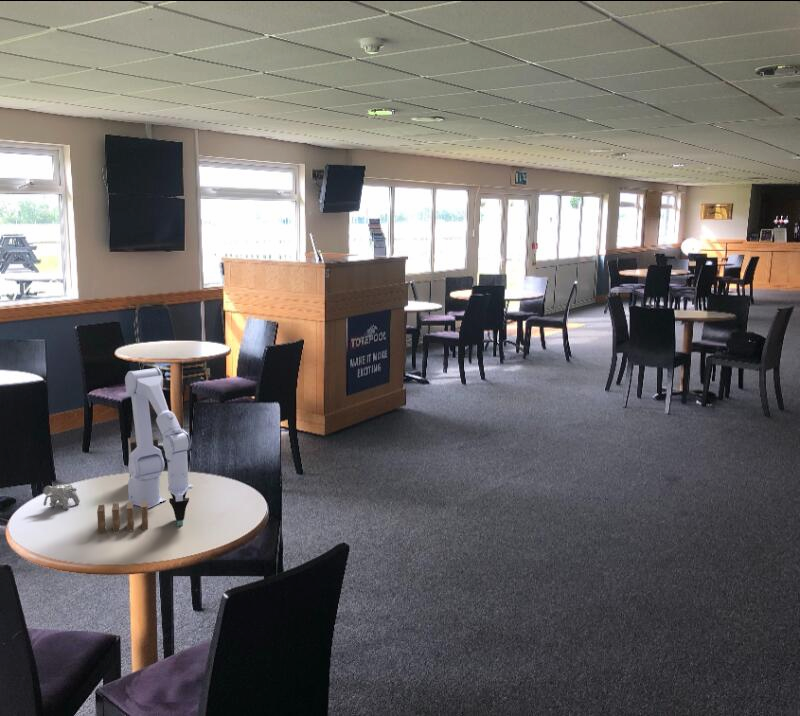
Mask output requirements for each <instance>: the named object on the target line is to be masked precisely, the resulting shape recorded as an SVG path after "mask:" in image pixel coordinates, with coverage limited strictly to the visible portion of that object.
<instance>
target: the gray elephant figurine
mask: <svg viewBox="0 0 800 716" xmlns="http://www.w3.org/2000/svg"><path fill="white" fill-rule="evenodd" d="M77 490H78V489H77V488H76V487H75V486H73V485H72V484H70V483H69V484H68V483H67V484H66V483H65V484H57V485H55V486H51V485H46V486H45V487H44V488H43V494H44V495H45V497H44V501H43V506H44V507H45V506H46V505H47V503H48V502H47V501H48V498H50V502H49V506H50V508H54V507H55V505H56V503H57V502H60V503H61V505H62V509H63V510H68V509H70V508H71V507H70V503H69V499H72V501H73V502H74V504H75V505H79V504H80V501H81V500H80V498H79V495H78V494H77Z"/></svg>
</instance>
